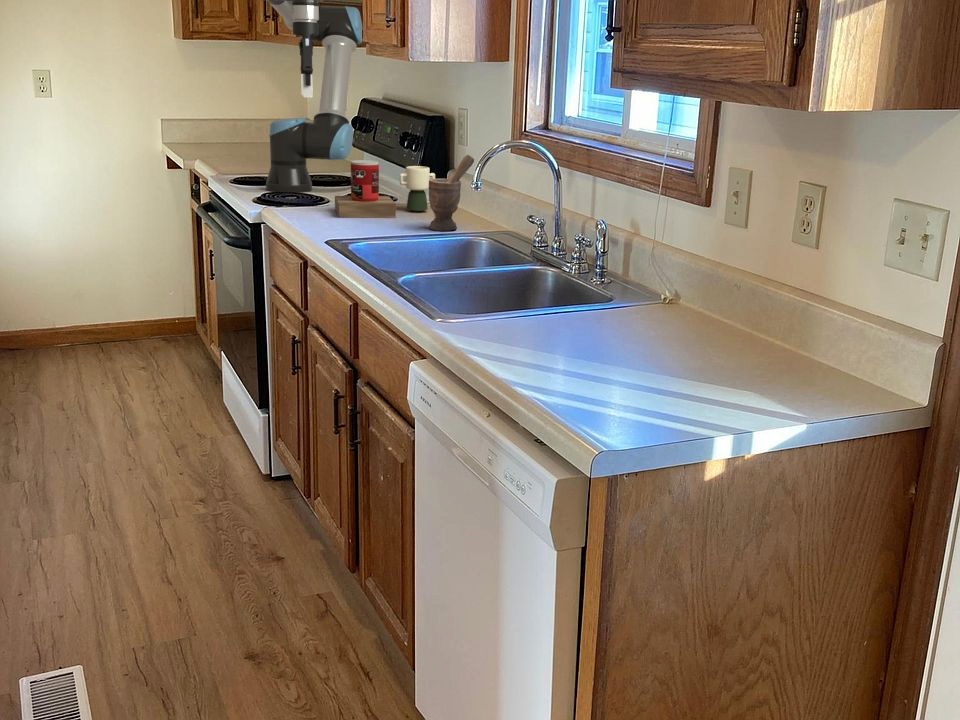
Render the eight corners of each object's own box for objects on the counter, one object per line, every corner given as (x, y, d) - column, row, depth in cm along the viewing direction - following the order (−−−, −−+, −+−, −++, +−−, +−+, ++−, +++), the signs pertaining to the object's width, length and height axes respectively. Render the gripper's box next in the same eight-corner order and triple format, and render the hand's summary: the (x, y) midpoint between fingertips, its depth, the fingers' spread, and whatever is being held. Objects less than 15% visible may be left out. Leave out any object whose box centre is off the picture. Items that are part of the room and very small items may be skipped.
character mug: (430, 209, 304) (431, 165, 300) (438, 212, 298) (438, 168, 294) (396, 210, 301) (396, 166, 297) (402, 213, 294) (403, 168, 290)
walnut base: (335, 209, 298) (334, 195, 297) (388, 209, 301) (388, 195, 300) (339, 217, 283) (339, 203, 282) (395, 217, 286) (395, 203, 285)
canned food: (347, 198, 292) (347, 160, 289) (373, 197, 295) (373, 159, 292) (355, 202, 286) (355, 163, 282) (382, 201, 289) (382, 162, 286)
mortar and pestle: (461, 225, 277) (463, 152, 272) (475, 230, 270) (477, 155, 264) (423, 227, 272) (424, 152, 266) (436, 232, 265) (437, 155, 259)
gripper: (291, 21, 304) (292, 94, 310) (294, 19, 281) (295, 98, 287) (316, 22, 306) (317, 94, 312) (321, 20, 282) (322, 98, 288)
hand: (306, 96), depth 299 cm, fingers open, 13 cm apart
